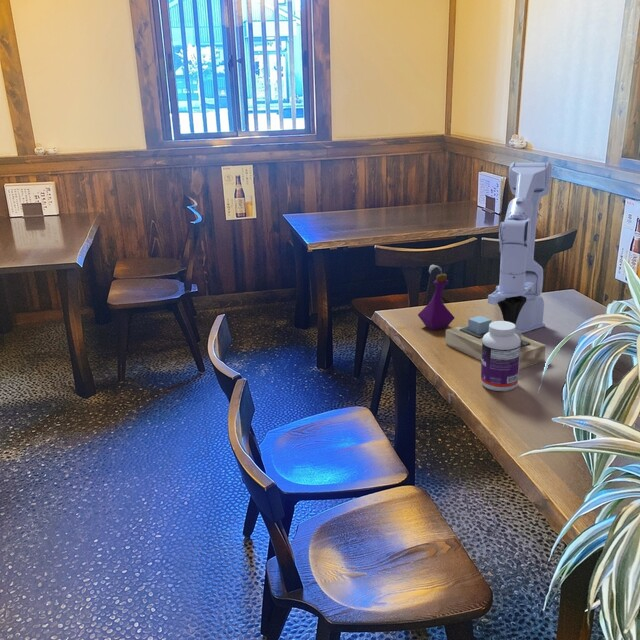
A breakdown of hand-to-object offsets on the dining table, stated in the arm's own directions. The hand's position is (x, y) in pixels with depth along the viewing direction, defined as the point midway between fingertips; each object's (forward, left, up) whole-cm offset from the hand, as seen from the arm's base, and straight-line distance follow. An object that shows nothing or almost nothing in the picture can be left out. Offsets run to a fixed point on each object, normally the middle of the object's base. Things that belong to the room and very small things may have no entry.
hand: (509, 325), depth 149 cm
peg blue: (0, -10, -6) cm, 12 cm away
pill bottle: (+12, +9, -9) cm, 17 cm away
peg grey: (0, 0, -6) cm, 6 cm away
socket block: (0, -5, -9) cm, 10 cm away
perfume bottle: (0, -27, -9) cm, 28 cm away
